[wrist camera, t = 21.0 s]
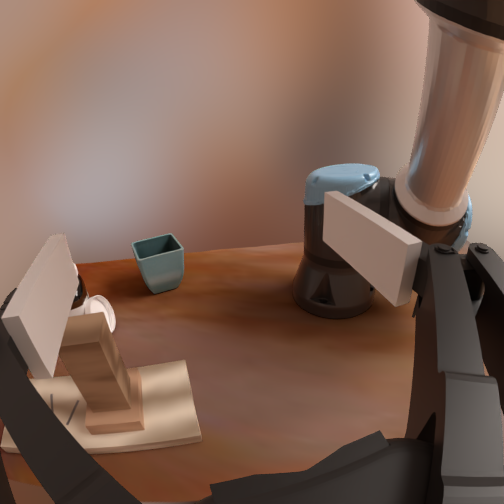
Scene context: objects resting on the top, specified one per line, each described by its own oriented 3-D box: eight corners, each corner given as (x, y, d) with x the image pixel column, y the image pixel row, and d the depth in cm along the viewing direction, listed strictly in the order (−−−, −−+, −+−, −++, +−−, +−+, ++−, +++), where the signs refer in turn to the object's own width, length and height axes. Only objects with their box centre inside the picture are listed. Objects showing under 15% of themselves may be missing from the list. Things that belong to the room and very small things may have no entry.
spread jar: (60, 317, 54) (40, 264, 49) (112, 302, 59) (96, 248, 53) (61, 356, 45) (34, 298, 39) (121, 338, 49) (101, 279, 44)
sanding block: (94, 382, 38) (59, 308, 33) (141, 376, 40) (113, 300, 34) (91, 434, 31) (43, 361, 25) (144, 429, 32) (106, 354, 26)
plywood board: (21, 386, 38) (17, 379, 37) (186, 366, 44) (185, 359, 43) (6, 452, 26) (0, 446, 26) (202, 441, 33) (200, 435, 32)
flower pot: (178, 270, 69) (171, 231, 65) (191, 289, 62) (184, 248, 58) (139, 281, 65) (130, 242, 61) (147, 302, 58) (137, 260, 54)
